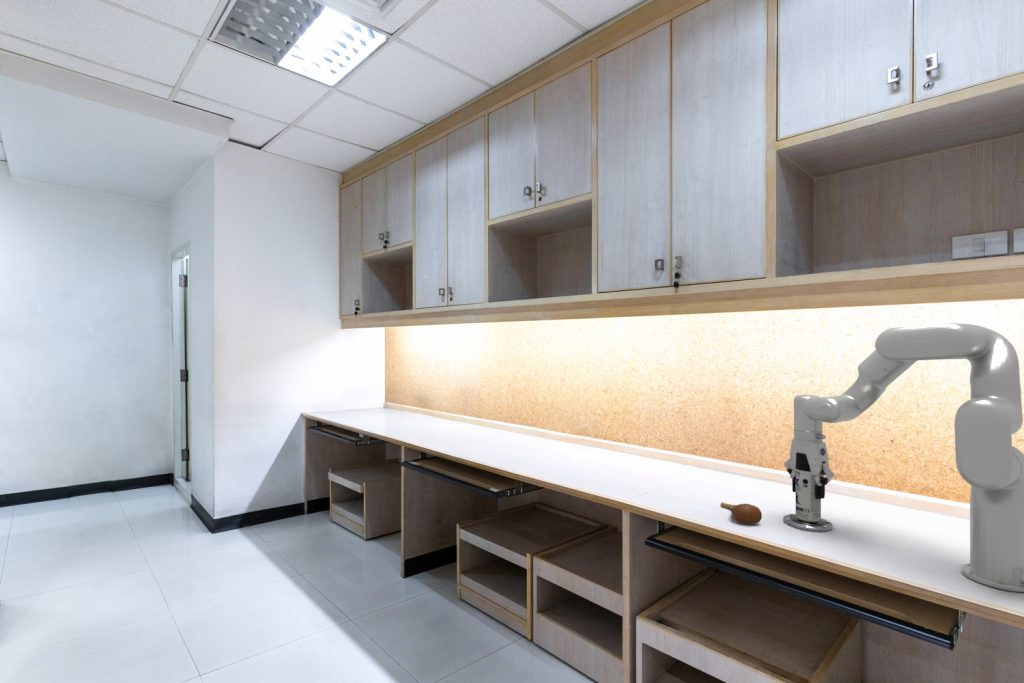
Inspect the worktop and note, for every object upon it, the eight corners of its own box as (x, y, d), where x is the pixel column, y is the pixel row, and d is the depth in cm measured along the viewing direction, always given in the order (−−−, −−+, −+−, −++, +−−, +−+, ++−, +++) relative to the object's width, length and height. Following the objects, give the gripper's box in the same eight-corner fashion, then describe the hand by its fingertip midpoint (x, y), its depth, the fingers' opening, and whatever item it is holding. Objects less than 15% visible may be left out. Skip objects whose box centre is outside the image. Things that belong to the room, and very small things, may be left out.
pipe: (728, 506, 171) (728, 488, 171) (763, 526, 152) (763, 506, 152) (707, 507, 170) (707, 489, 170) (740, 527, 151) (740, 507, 151)
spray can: (793, 514, 157) (793, 449, 158) (819, 517, 155) (818, 451, 155) (797, 521, 151) (796, 453, 151) (823, 524, 149) (823, 455, 149)
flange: (843, 529, 150) (843, 524, 150) (812, 534, 145) (812, 529, 145) (803, 515, 162) (803, 510, 162) (773, 520, 157) (773, 515, 157)
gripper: (844, 440, 147) (844, 501, 146) (791, 430, 163) (791, 486, 163) (826, 441, 144) (826, 504, 144) (774, 432, 160) (774, 488, 160)
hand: (808, 494), depth 153 cm, fingers open, 6 cm apart
